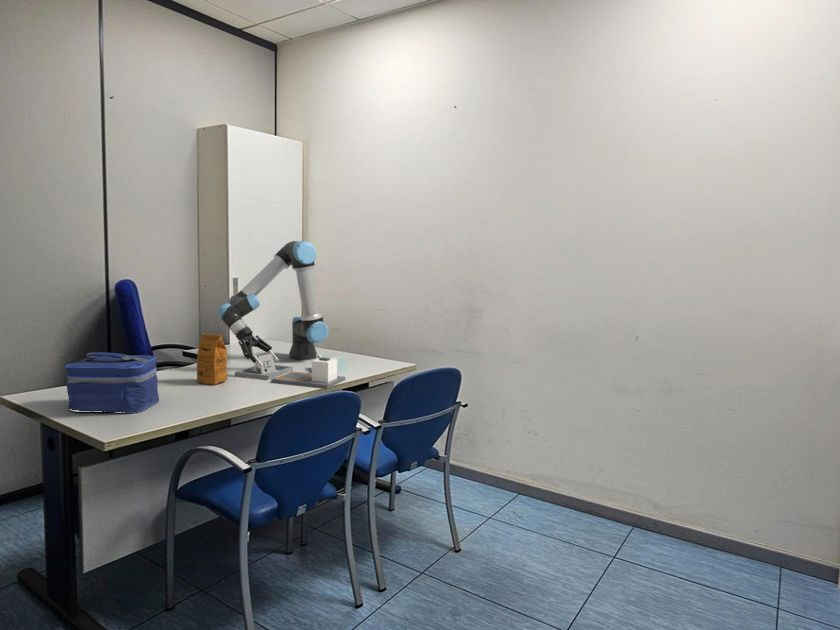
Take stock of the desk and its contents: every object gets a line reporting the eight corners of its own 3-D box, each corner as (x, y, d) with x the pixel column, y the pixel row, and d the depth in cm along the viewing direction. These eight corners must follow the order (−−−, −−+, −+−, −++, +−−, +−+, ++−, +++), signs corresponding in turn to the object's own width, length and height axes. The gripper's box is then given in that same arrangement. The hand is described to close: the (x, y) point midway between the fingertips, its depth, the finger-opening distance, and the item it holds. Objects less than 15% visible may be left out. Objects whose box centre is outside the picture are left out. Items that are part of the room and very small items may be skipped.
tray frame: (261, 367, 285) (261, 363, 285) (293, 370, 279) (293, 366, 279) (234, 376, 264) (234, 372, 264) (268, 379, 259) (268, 375, 258)
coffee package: (210, 378, 258) (209, 331, 256) (230, 381, 253) (229, 333, 250) (192, 382, 250) (191, 333, 247) (213, 386, 244) (212, 336, 242)
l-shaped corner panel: (346, 372, 280) (346, 357, 279) (321, 373, 275) (322, 358, 274) (340, 367, 291) (340, 353, 290) (317, 368, 286) (317, 354, 286)
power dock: (291, 374, 271) (291, 351, 269) (345, 379, 262) (345, 356, 261) (271, 382, 254) (271, 357, 252) (327, 388, 245) (327, 362, 244)
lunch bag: (52, 413, 200) (49, 356, 197) (85, 398, 221) (83, 346, 218) (141, 414, 201) (139, 358, 199) (165, 399, 222) (164, 348, 219)
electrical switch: (262, 375, 266) (260, 356, 266) (254, 375, 269) (252, 356, 268) (276, 372, 275) (274, 353, 274) (268, 372, 277) (266, 353, 277)
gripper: (252, 332, 286) (278, 364, 283) (220, 339, 263) (248, 374, 260) (261, 323, 284) (287, 354, 281) (230, 329, 260) (258, 363, 258)
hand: (268, 364), depth 270 cm, fingers open, 13 cm apart
